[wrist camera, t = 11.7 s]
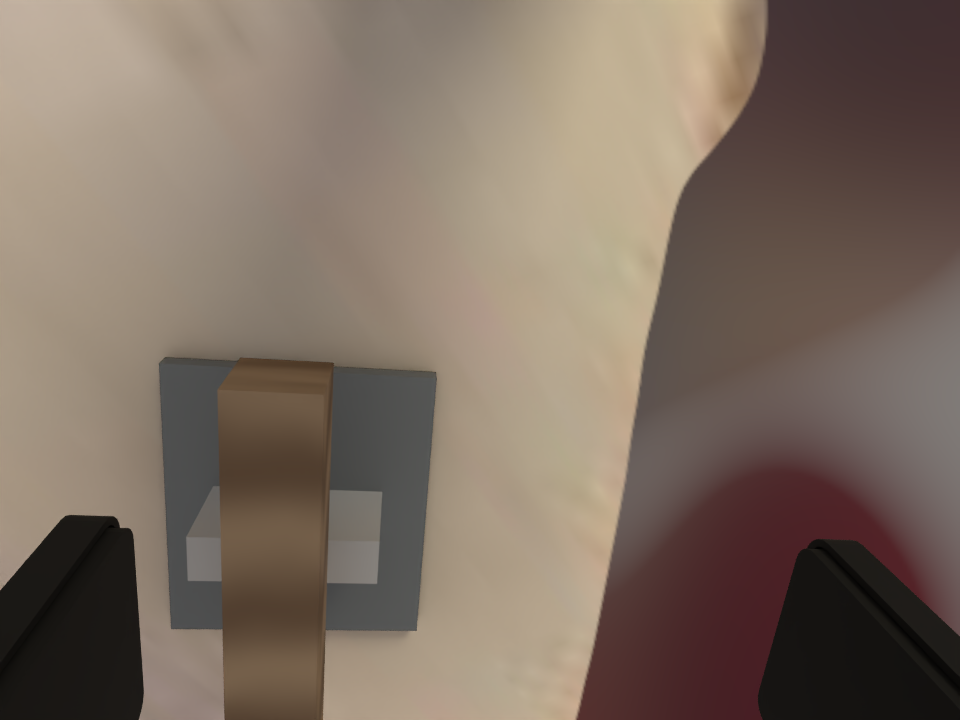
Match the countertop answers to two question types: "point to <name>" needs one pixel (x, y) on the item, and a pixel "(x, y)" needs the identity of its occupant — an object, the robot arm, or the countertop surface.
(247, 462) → the walnut bar
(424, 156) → the countertop surface
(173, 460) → the slate board
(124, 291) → the countertop surface
